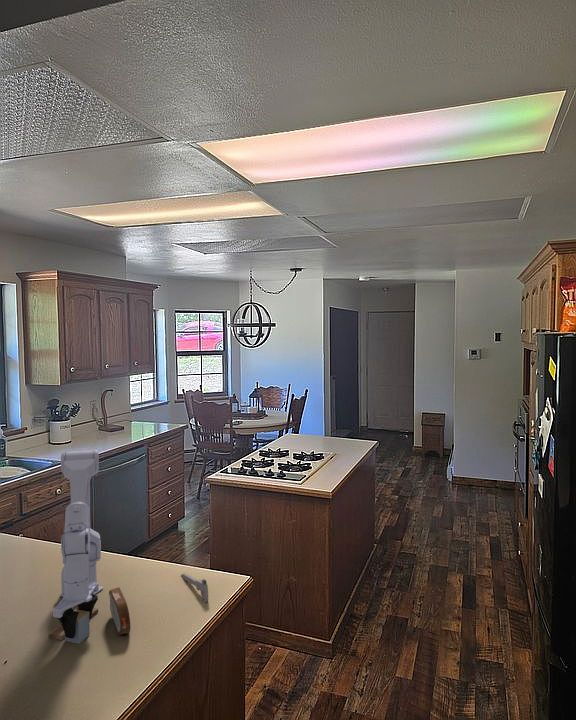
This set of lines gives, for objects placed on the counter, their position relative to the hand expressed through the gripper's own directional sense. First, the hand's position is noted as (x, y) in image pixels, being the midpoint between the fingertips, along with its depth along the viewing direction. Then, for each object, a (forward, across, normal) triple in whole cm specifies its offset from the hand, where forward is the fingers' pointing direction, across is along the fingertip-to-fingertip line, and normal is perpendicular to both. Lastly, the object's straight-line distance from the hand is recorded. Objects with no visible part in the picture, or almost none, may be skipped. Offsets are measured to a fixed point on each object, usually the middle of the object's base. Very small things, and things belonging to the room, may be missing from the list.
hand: (77, 631), depth 131 cm
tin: (+2, +8, -7) cm, 11 cm away
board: (+2, +5, +5) cm, 7 cm away
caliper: (+2, +32, -16) cm, 36 cm away
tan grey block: (+2, 0, 0) cm, 2 cm away
